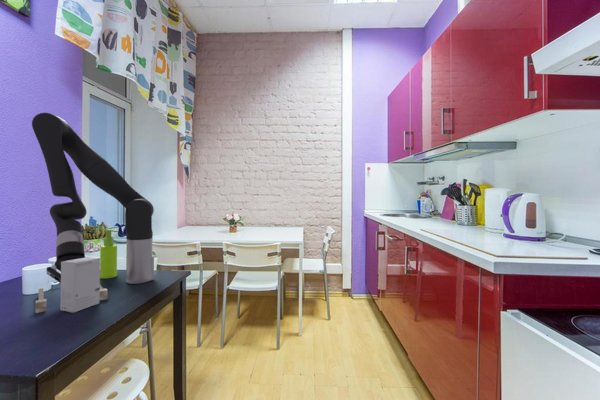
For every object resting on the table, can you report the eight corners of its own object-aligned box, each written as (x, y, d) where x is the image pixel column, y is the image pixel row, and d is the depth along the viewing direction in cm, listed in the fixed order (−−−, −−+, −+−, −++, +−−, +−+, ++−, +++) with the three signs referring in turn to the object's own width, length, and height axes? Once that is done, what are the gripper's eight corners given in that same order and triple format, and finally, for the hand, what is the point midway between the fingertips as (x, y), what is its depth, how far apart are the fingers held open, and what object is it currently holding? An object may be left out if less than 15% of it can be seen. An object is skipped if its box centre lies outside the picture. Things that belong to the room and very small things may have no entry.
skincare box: (73, 313, 83) (73, 263, 83) (58, 310, 85) (59, 261, 84) (101, 303, 91) (101, 257, 91) (87, 300, 93) (87, 255, 92)
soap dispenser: (113, 278, 117) (113, 230, 116) (96, 278, 117) (96, 230, 117) (122, 274, 123) (122, 228, 122) (106, 274, 123) (106, 228, 122)
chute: (99, 286, 107) (99, 278, 107) (107, 298, 95) (107, 290, 94) (36, 296, 96) (36, 287, 95) (35, 313, 83) (35, 303, 83)
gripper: (44, 242, 91) (44, 289, 82) (94, 238, 100) (99, 281, 91) (44, 255, 95) (44, 302, 86) (92, 251, 104) (97, 293, 95)
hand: (72, 291), depth 89 cm, fingers closed
